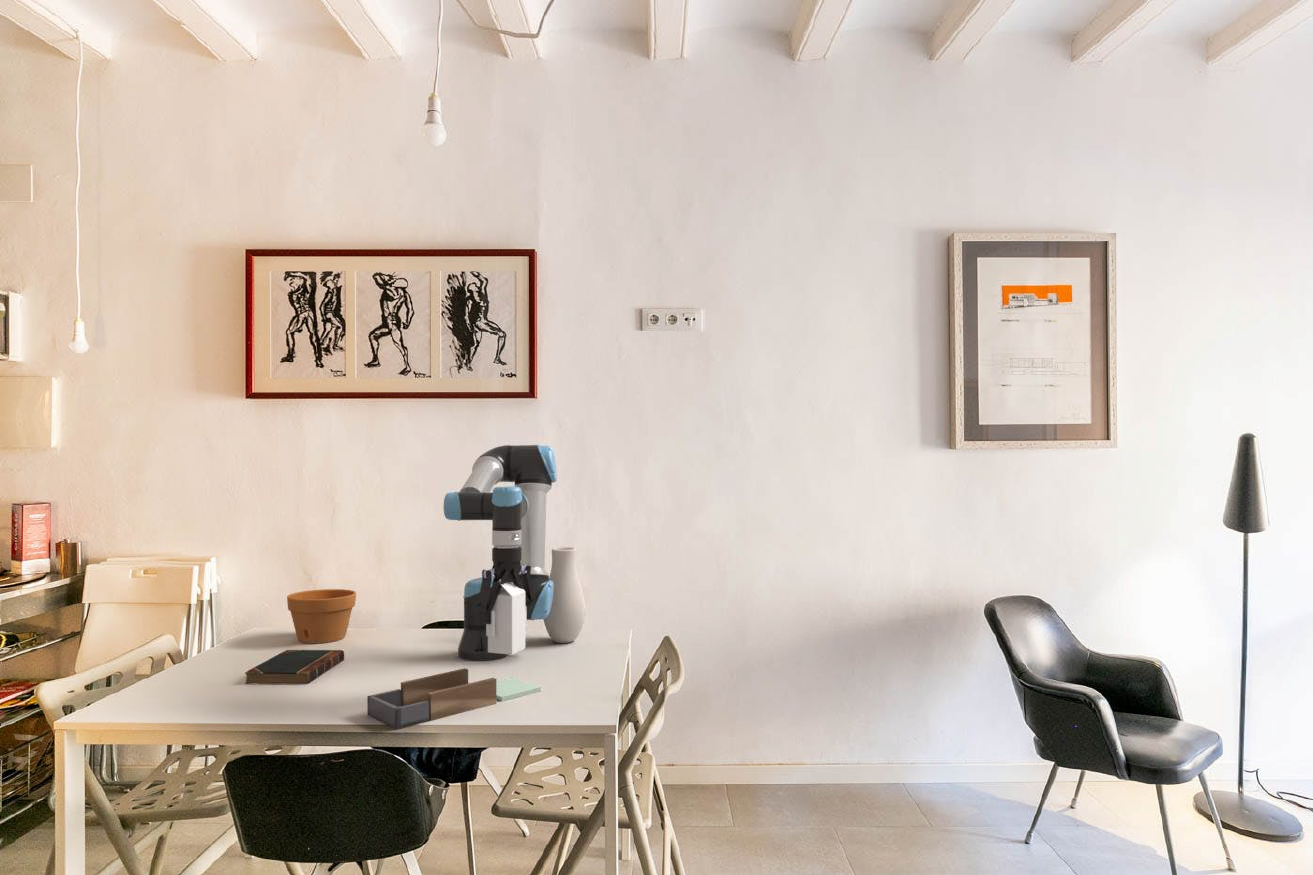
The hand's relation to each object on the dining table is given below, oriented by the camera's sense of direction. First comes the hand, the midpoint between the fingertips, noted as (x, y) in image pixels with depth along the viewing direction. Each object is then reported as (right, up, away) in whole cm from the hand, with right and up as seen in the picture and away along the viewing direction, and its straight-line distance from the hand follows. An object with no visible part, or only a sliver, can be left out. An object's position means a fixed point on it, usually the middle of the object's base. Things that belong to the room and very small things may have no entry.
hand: (506, 633), depth 215 cm
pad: (0, -15, 0) cm, 15 cm away
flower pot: (-71, -16, +58) cm, 93 cm away
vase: (+9, -16, +54) cm, 57 cm away
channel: (-12, -15, -12) cm, 23 cm away
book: (-62, -16, +19) cm, 67 cm away
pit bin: (-21, -15, -22) cm, 34 cm away
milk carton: (0, -5, 0) cm, 5 cm away
